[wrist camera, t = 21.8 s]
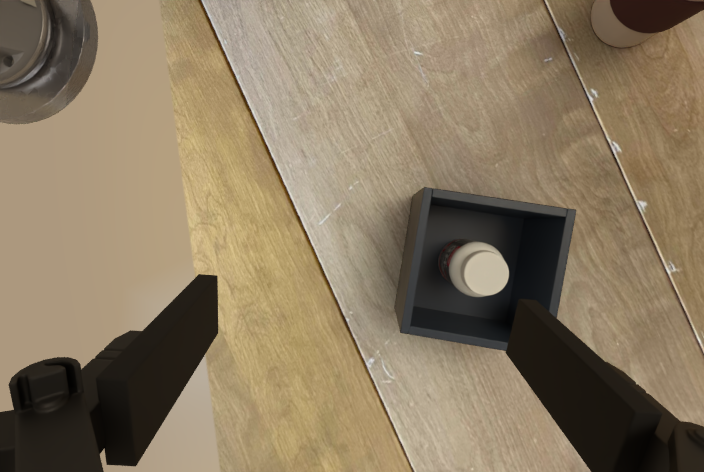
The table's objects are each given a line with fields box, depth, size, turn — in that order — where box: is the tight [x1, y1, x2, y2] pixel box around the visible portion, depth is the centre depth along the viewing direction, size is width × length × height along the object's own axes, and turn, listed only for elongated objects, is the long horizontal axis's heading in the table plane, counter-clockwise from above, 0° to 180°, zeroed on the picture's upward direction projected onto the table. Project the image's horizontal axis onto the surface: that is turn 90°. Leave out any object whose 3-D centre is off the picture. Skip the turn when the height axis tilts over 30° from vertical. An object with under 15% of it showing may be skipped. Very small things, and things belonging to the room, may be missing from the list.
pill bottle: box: [438, 239, 509, 297], centre depth 37 cm, size 5×5×10 cm
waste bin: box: [394, 187, 576, 351], centre depth 38 cm, size 14×14×10 cm
